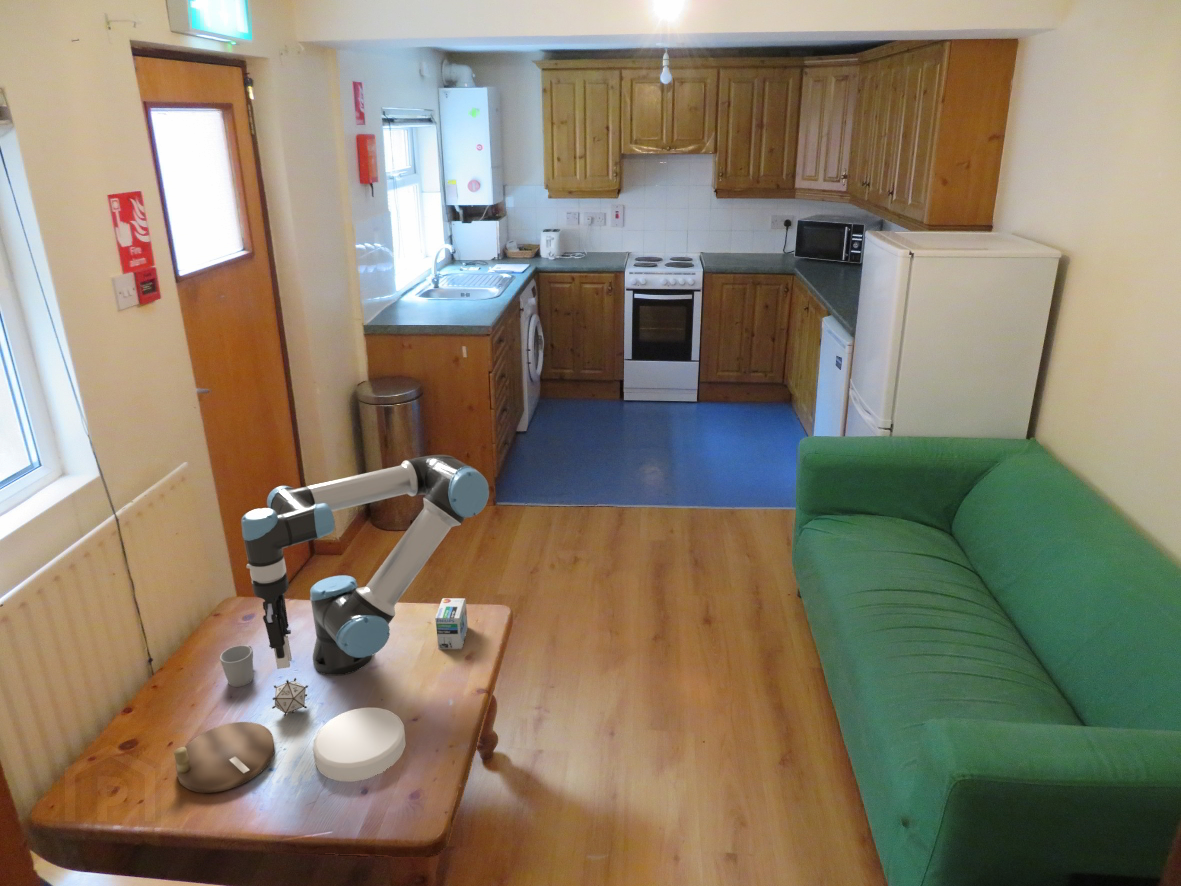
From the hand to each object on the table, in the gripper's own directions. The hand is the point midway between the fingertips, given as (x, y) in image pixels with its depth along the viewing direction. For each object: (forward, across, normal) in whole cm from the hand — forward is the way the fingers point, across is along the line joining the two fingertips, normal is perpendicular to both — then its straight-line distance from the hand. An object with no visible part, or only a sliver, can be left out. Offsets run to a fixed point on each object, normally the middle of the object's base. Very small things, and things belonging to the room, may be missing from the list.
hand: (284, 663), depth 192 cm
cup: (+15, -17, -15) cm, 27 cm away
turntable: (+14, +14, -12) cm, 23 cm away
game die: (+15, 0, 0) cm, 15 cm away
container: (+15, +16, +17) cm, 28 cm away
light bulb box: (+15, -23, +39) cm, 48 cm away
